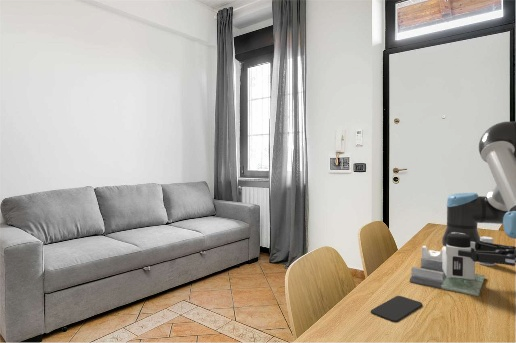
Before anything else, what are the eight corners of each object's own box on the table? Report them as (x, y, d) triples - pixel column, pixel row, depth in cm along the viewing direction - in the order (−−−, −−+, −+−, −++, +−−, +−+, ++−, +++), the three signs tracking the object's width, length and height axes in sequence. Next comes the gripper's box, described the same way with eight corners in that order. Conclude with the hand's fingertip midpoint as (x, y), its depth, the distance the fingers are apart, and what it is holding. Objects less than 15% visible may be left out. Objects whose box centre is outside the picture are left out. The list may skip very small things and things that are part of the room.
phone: (368, 311, 87) (397, 294, 96) (368, 314, 87) (397, 297, 96) (395, 321, 81) (424, 303, 91) (395, 324, 81) (424, 306, 91)
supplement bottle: (476, 264, 124) (476, 237, 124) (478, 260, 128) (479, 235, 128) (493, 267, 121) (494, 240, 120) (496, 263, 125) (496, 237, 124)
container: (475, 279, 102) (475, 237, 101) (446, 277, 104) (446, 235, 104) (468, 271, 109) (469, 232, 108) (442, 269, 112) (442, 230, 111)
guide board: (423, 267, 121) (423, 256, 121) (484, 278, 110) (484, 266, 110) (409, 281, 107) (409, 269, 107) (478, 296, 96) (478, 282, 96)
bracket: (443, 271, 117) (444, 250, 117) (421, 267, 122) (422, 247, 121) (450, 262, 127) (450, 242, 127) (429, 259, 132) (429, 239, 132)
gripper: (541, 284, 85) (442, 267, 99) (538, 262, 103) (454, 250, 117) (541, 255, 85) (442, 242, 99) (539, 238, 102) (455, 229, 116)
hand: (449, 246), depth 108 cm, fingers closed on container, 9 cm apart
